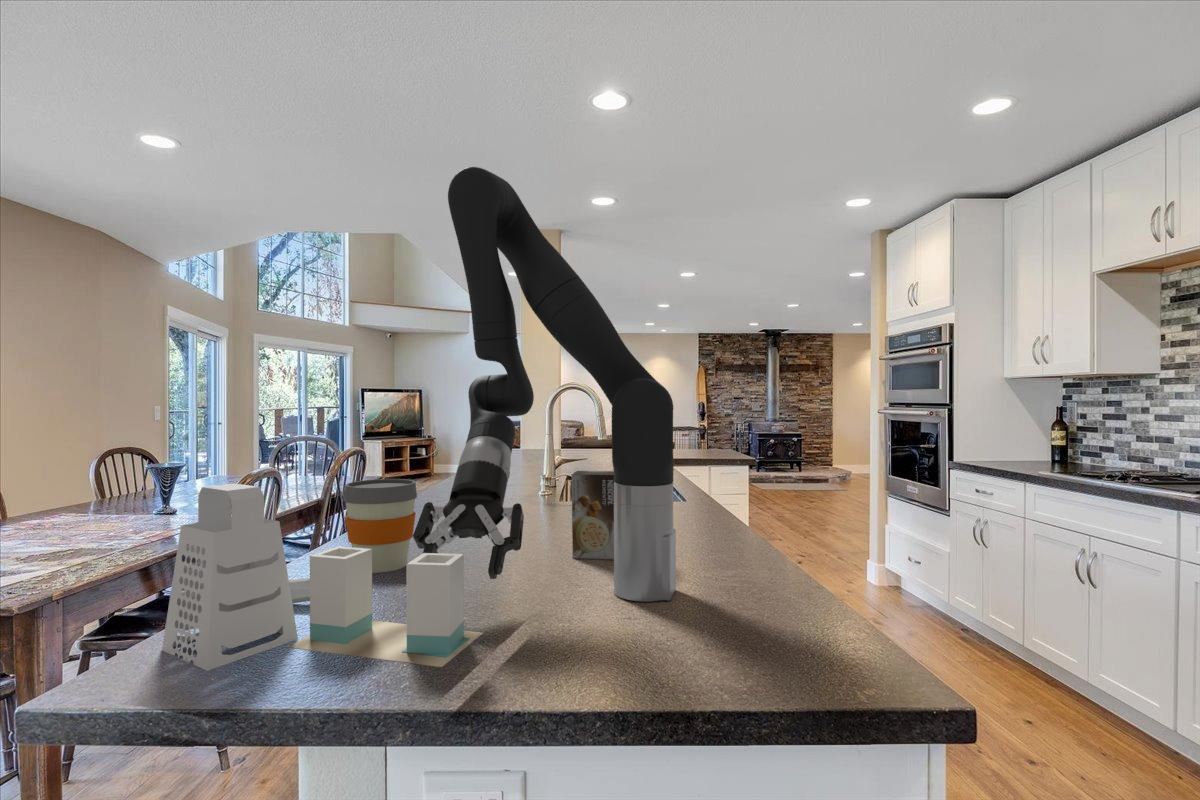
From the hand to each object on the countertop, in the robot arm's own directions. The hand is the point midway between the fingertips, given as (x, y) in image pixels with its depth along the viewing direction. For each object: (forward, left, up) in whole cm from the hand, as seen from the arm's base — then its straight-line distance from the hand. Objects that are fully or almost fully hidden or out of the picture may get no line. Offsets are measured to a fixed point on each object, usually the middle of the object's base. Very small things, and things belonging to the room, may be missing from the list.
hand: (459, 575), depth 79 cm
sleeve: (-1, +7, -6) cm, 9 cm away
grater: (+23, +13, -8) cm, 27 cm away
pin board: (+6, +7, -8) cm, 12 cm away
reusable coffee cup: (+30, -26, -8) cm, 40 cm away
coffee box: (-6, -43, -8) cm, 44 cm away
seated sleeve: (+12, +7, -6) cm, 15 cm away
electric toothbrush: (+29, +1, -8) cm, 30 cm away
